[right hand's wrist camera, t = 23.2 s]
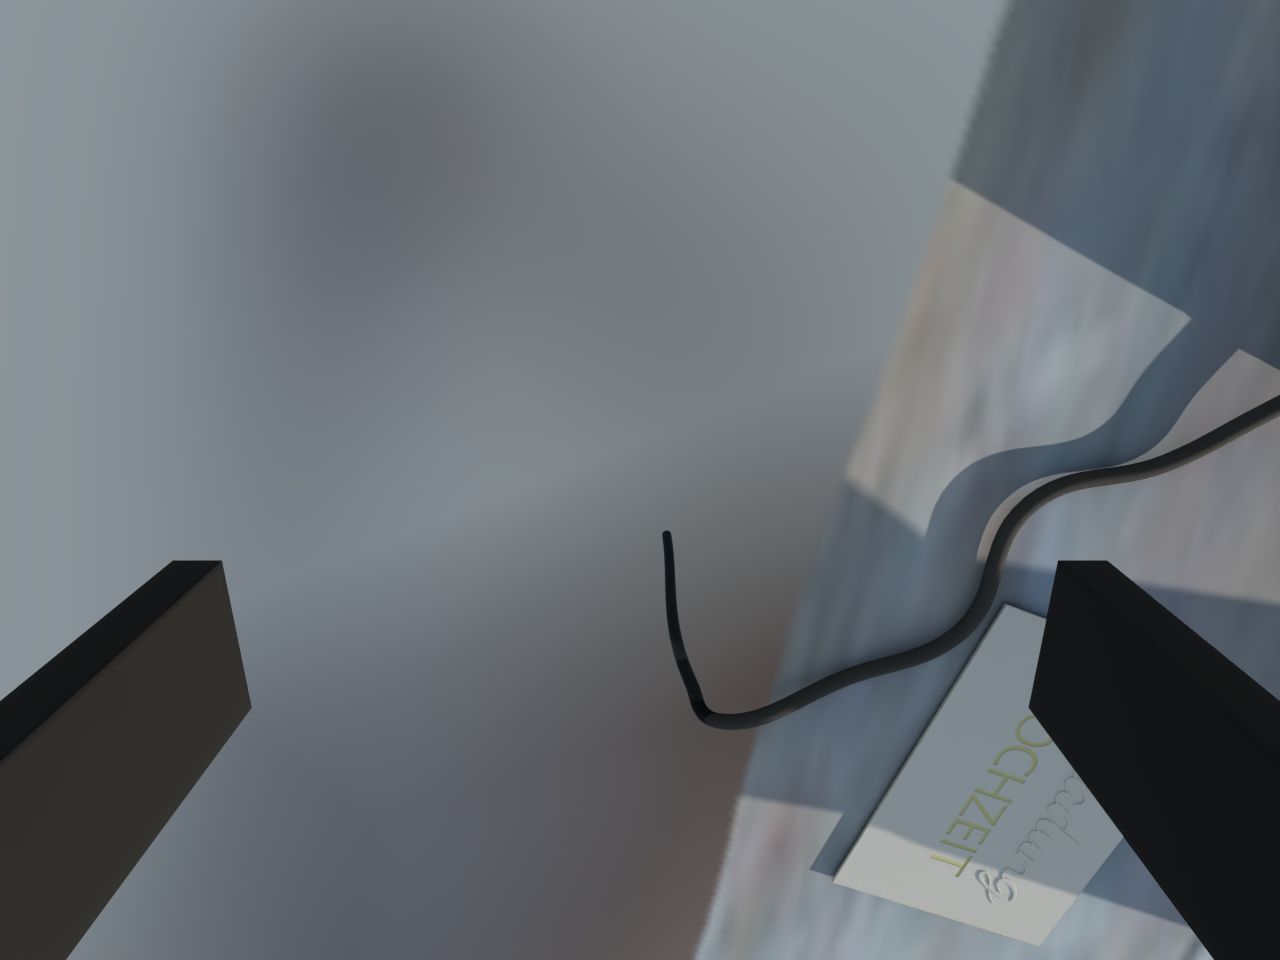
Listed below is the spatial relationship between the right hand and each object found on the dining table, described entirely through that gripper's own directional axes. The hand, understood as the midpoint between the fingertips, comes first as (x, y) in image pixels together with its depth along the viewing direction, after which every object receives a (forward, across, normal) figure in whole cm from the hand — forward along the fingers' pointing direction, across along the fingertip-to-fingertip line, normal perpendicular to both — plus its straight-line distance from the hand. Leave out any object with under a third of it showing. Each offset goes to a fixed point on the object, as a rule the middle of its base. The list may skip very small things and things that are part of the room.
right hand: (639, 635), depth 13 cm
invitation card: (+28, -23, +28) cm, 45 cm away
